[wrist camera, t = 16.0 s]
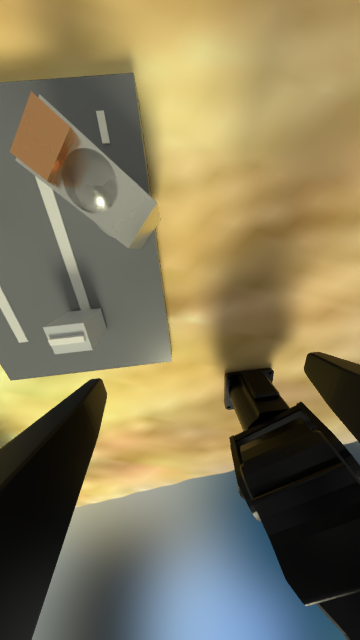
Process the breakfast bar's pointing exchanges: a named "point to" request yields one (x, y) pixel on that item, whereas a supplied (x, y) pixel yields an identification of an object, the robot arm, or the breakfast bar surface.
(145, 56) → the breakfast bar surface
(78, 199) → the dial
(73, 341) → the fader
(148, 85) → the breakfast bar surface
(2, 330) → the console
